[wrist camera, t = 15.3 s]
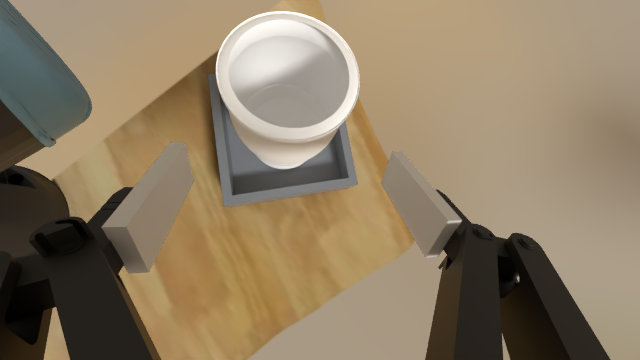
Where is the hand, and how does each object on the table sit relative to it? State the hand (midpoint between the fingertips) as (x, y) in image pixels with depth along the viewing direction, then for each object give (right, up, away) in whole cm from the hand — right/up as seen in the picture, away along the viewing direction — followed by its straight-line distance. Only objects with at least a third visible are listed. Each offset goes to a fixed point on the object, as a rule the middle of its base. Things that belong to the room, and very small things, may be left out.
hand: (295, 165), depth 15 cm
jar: (-3, +4, +16) cm, 17 cm away
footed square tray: (-4, +4, +19) cm, 20 cm away
